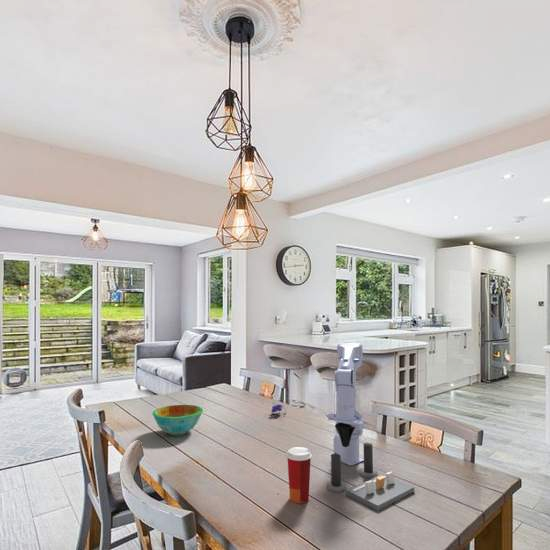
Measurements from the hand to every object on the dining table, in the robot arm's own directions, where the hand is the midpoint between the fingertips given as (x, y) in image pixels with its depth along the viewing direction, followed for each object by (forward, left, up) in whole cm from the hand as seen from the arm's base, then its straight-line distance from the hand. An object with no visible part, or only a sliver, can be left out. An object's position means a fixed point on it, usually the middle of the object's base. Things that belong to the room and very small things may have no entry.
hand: (345, 446), depth 132 cm
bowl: (-78, -26, -11) cm, 83 cm away
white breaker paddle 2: (+14, +5, -9) cm, 17 cm away
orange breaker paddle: (+14, 0, -9) cm, 16 cm away
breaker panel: (+14, 0, -10) cm, 17 cm away
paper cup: (+1, -22, -11) cm, 24 cm away
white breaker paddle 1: (+14, -5, -9) cm, 17 cm away
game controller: (-73, +29, -11) cm, 79 cm away
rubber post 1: (+3, -8, -10) cm, 13 cm away
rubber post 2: (+3, +8, -10) cm, 14 cm away
